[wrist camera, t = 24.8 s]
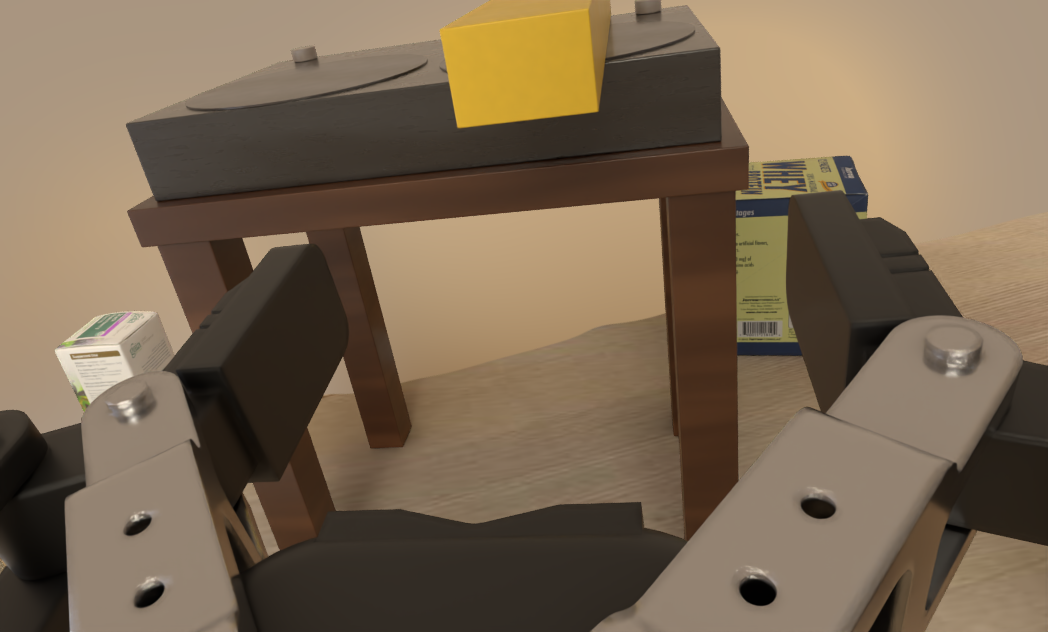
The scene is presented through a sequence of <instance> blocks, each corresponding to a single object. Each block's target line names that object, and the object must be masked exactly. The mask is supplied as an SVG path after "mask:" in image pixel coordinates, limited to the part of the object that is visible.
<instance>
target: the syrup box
mask: <svg viewBox="0 0 1048 632" xmlns="http://www.w3.org/2000/svg"><path fill="white" fill-rule="evenodd" d="M55 353H56V355H57V357H58V359H59V361H60V363H61V365H62V367H63V369H64V372H65V373H66V376H67V378H68V380H69V382H70V384H71V386H72V388H73V390H74V392H75V394H76V396H77V398H78V400H79V402H80V404H81V406H82V409H83V411H84V412H85V410H86V408H87V407H88V406H89V405H90V404H91V402H92V401H93V400H95V399H96V398H97V397H98V396H99V395H100V394H102V393H103V392H104V391H106V390H107V389H109V388H110V387H112V386H114V385H116V384H117V383H119V382H121V381H123V380H126V379H128V378H131V377H133V376H136V375H139V374H143V373H147V372H154V371H163V369H164V368H165V367H166V366H167V365H168V363H169V362H170V361H171V360H172V358H173V357H174V356H175V355H174V352H173V350H172V347H171V345H170V342H169V340H168V338H167V335H166V333H165V330H164V328H163V325H162V322H161V320H160V317H159V315H158V313H157V312H152V311H151V312H150V311H128V312H116V313H109V314H104V315H100V316H96V317H95V318H94V319H92V320H91V321H90V322H89V323H87V324H86V325H85V326H84V327H82V328H81V329H80V330H78V331H77V332H76V333H75V334H73V335H72V336H71V337H70V338H68V339H67V340H66V341H65V342H63V343H62V344H61V345H60V346H58V347H57V348H56V349H55Z"/></svg>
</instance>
